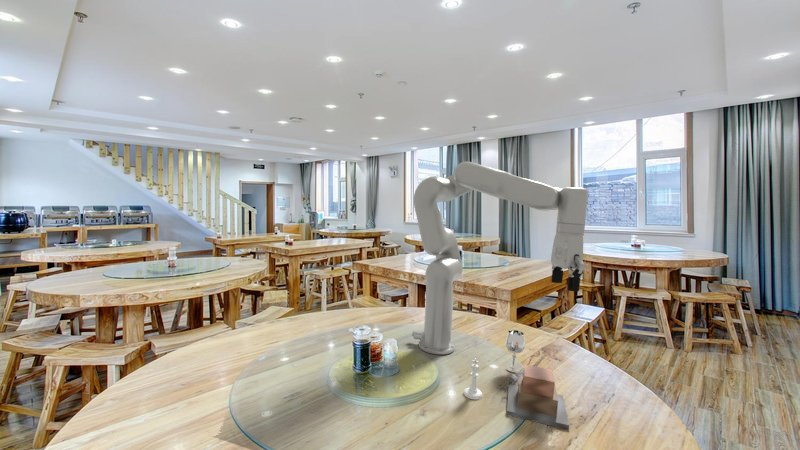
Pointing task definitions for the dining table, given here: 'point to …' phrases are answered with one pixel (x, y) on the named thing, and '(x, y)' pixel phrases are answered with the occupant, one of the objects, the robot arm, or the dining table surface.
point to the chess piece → (473, 383)
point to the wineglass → (515, 343)
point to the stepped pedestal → (537, 398)
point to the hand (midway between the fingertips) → (564, 286)
